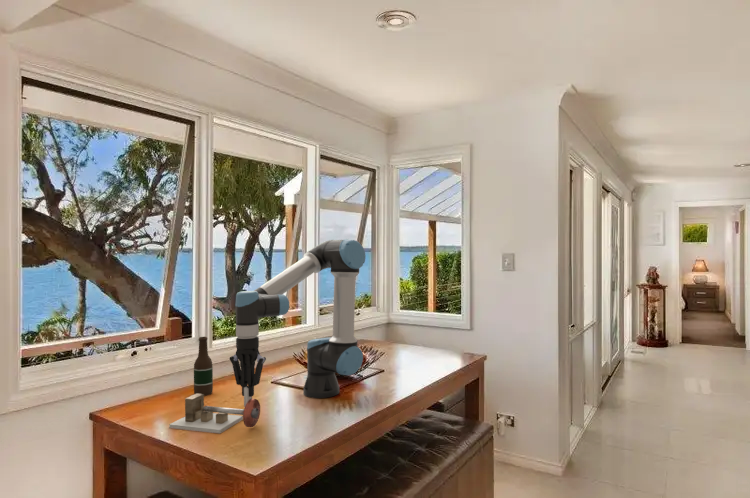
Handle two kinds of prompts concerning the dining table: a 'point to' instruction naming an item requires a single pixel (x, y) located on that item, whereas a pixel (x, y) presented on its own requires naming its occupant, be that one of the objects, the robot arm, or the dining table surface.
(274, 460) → the dining table surface
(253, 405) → the disc-ended rod
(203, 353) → the beer bottle
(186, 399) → the eye bracket
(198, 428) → the base board
